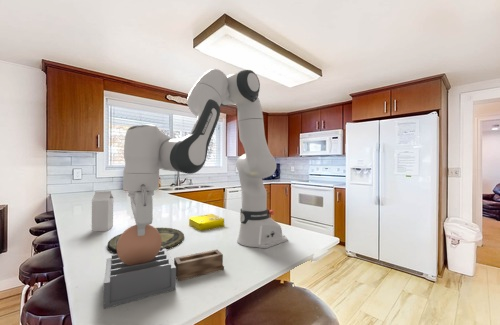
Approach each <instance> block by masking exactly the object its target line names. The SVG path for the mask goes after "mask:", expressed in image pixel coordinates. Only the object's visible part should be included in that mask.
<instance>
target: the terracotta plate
mask: <svg viewBox="0 0 500 325" xmlns="http://www.w3.org/2000/svg"><path fill="white" fill-rule="evenodd" d="M156 228H157V227H155V226H153V225H152V224H150V225H146V227H145V235H143V236H138V235H137V225H136V224H134V225H132V226H129V227H128V228H127V229H125V230H124V231H123V232H122V233H121V234H122V235H121V236H120V238H119V240H118V242H117V255H118V257H119V259H120V260H121V261H122V262H123V263H125V264H127V265H130V266H133V265H138V264H143V263H148V262H150V261H151V260H153V259H154V258H155V257H156V255H157V254H158V253H159V251H160V248H161V244H162V239H161V236H160V234H159V232H158V230H157V229H156Z"/></svg>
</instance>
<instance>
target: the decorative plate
mask: <svg viewBox="0 0 500 325" xmlns="http://www.w3.org/2000/svg"><path fill="white" fill-rule="evenodd" d="M155 228H156V229H157V230H158V232H159V234H160V236H161V239H162V244H161V247H163V249H166V250H167V249H168V250H171V249H173V248H175V247H178V246H179V245H180V244H181V243H183V242H184V240H185V234H184V233H183V231H182V230H179V229H176V228H170V227H155ZM121 235H122V233H120V234H118V235H115V236H113V237H112V238H111V239H110V240H108V242H107V246H106V248H107V249H108V251H109V252H111V253H114V255H115V254H117V242H118V240H119V238H120V236H121ZM182 241H183V242H182ZM178 244H179V245H178ZM172 247H173V248H172ZM170 248H171V249H170ZM168 250H167V251H168Z"/></svg>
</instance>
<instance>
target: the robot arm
mask: <svg viewBox="0 0 500 325" xmlns="http://www.w3.org/2000/svg"><path fill="white" fill-rule="evenodd" d="M260 88H261V83H260V79H259V77H258V75H257V74H256V73H255V71H253V70H251V69H244V70H241V71H238V72H235V73H232V74H228V75H226V74H225V73H224V71H222V70H220V69H218V68H211V69H209V70H207V71H206V72H204V73H203V75H201V77H199V79H197V81H196V82H195V84H194V85H193V87H192V88H191V89H190V91H189V93H188V96H187V98H186V104H187V106H188V108H189V109H188V110H190V112H191V113H192V114H193V115H194V116H195V117H196V118H197V119H196V120H195V123H194V124H193V127H192V129H191V131H190V132H189V134H187V135H186V136H183V137H182V138H172V137H170V136H168V135H166V134H165V133H164V132H162V131H161V130H160V129H159V127H158V126H157V125H155V124H140V125H138V124H137V125H132V126H130V127H129V128H128V129H127V130H126V132H125V137H124V145H123V159H124V169H123V174H122V175H123V177H122V178H123V180H122V182H123V183H122V190H123V191H125V192H128V194H127V196H128V197H130V204H131V205H130V207H131V210H132V215H133V218H134V221H135V225H137V235H138V236H143V235H145V227H146V225H152V223H153V219H154V218H153V210H154V207H153V204H154V202H153V196H154V195H155V191H158V190H159V188H160V170H162V171H170V172H179V173H183V174H189V175H192V174H196V173H197V172H199V171H200V170H201V169H203V167H204V166H205V163H206V161H207V156H208V152H209V151H208V150H209V146H210V143H211V140H212V138H213V135H214V134H215V133H214V132H215V130H216V128H217V125H218V121H219V119H220V116H221V108H220V107H228V106H230V105H235V106H236V108H237V125H238V126H237V127H238V136H239V141H240V143H241V144H242V147H243V149H244V152H245V153H243V154H242V155H241V156H239V157H238V158H237V159H236V161H235V162H236V163H235V168H236V170H237V171H238V172H237V173H238V176H239V183H240V191H241V208H240V212H239V213H240V216H239V217H240V218H239V219H240V220H239V221H240V228H239V232H238V233H239V234H238V236H237V240H236V241H237V243H238V244H240V245H242V246H245V247H250V248H258V249H259V248H260V249H268V248H271V247H273V246H277V245H278V244H282V243H284V242H287V241H288V237H287V236H286V235H284V234H283V231H282V230H283V229H282V227H281V225H280V224H279V223H278V222H276V221H275V220H274V219H273V218H272V217H271V216H274V214H275V210H273V209H268V207H267V205H268V204H267V203H268V201H267V200H268V198H267V197H268V192H267V189H266V188H265V185H264V181H263V179H266V178H269V177H271V176H273V175H274V173H275V172H276V170H277V161H276V159H275V157H274V156H273V155H272V153H271V151H270V149H269V146H268V143H267V139H266V134H265V124H264V114H263V109H262V105H261V101H260V99H259V93H260V90H261V89H260ZM270 215H271V216H270Z"/></svg>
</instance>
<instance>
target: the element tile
mask: <svg viewBox="0 0 500 325" xmlns="http://www.w3.org/2000/svg"><path fill="white" fill-rule="evenodd" d="M190 225H191V226H192V227H191V226H190ZM188 226H190V227H191V228H193V227H194V229H195V230H197V231H199V232H204V231H209V229H210V230H215V229H219V227H220V228H223V226H224V227H225V218H223V217H221V216H218V215H216V214H213V213H209V214H203V215H196V216H190V217H189V218H188Z"/></svg>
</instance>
